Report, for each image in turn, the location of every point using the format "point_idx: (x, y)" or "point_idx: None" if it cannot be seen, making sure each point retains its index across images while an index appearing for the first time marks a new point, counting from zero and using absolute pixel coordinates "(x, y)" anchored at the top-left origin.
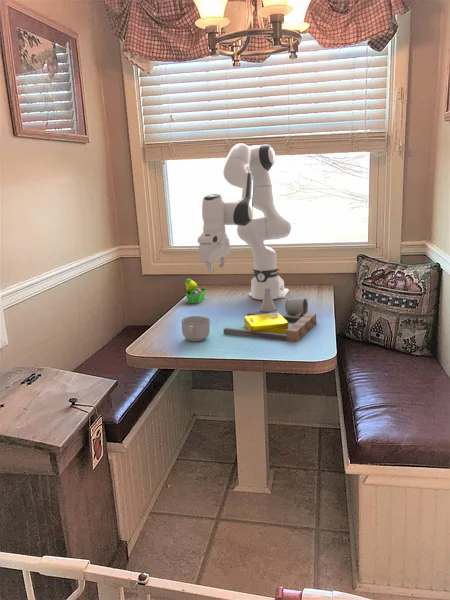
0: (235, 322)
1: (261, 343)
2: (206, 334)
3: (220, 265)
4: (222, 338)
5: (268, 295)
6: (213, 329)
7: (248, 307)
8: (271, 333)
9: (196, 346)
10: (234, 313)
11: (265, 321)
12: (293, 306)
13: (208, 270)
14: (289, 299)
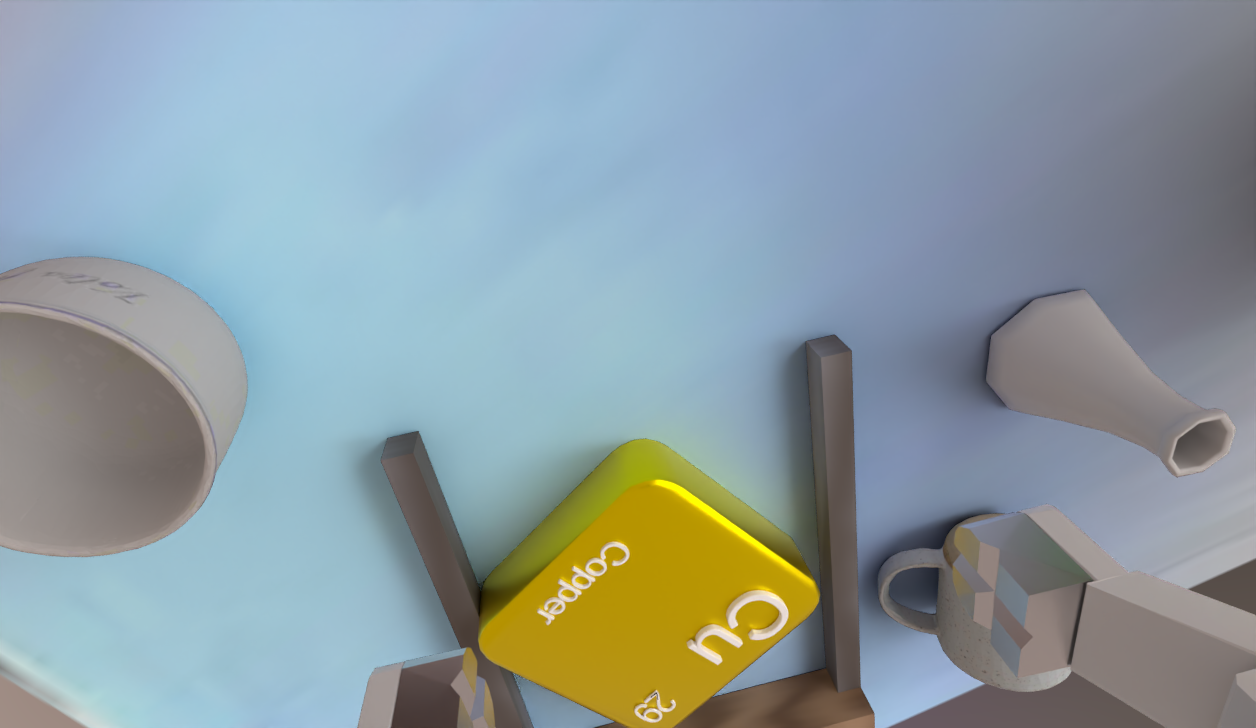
0: (666, 334)
1: None
2: (154, 474)
3: (995, 576)
4: (306, 490)
5: (1123, 432)
6: (420, 302)
7: (1098, 154)
8: (502, 715)
9: None
10: (891, 159)
11: (606, 652)
12: (962, 622)
13: (365, 707)
14: None
